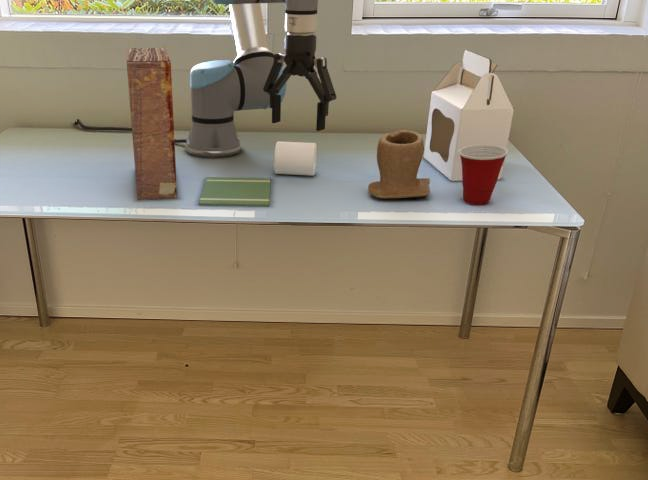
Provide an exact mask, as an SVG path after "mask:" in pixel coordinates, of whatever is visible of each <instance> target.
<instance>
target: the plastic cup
mask: <svg viewBox="0 0 648 480" xmlns="http://www.w3.org/2000/svg"><path fill="white" fill-rule="evenodd" d="M458 152H459V155H460V156H461V163H462V181H461V182H462V183H461V184H462V198H463V199H462V200H463V202H464V203H466V204H469V205H473V206H474V205H475V206H483V205H487V204H489V202H490V200H491V198H492V195H493V192H494V189H495V187H496V184H497V181H498V180H497V179H498V176H499V173H500V170H501V167H502V165H503V162H504V163H505V161H506V157H507V156H508V154H509V150H508V148H507V149H506V148H504V147H501V146H496V145H472V146H466V147H463V148H461V149H460V150H459V151H458ZM504 160H505V161H504Z"/></svg>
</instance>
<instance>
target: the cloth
mask: <svg viewBox="0 0 648 480" xmlns="http://www.w3.org/2000/svg"><path fill="white" fill-rule="evenodd" d="M271 179H272V178H271V177H235V176H234V177H232V176H231V177H229V176H227V177H225V176H224V177H223V176H206V179H205V182H204V185H203V188H202V192H201V195H200V198H199V201H198V206H225V207H226V206H231V207H234V206H235V207H237V206H238V207H269V206H270V198H271V197H270V196H271V182H272V181H271Z"/></svg>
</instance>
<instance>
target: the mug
mask: <svg viewBox="0 0 648 480" xmlns="http://www.w3.org/2000/svg"><path fill="white" fill-rule="evenodd" d="M317 148H318V147H317V143H316V142H303V141H302V142H299V141H279V140H278V141H276V142H275V146H274V155H273V170H274V174H276V175H291V176H310V177H313V176H315V174H316V168H317V156H318V155H317V151H318V149H317Z"/></svg>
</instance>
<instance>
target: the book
mask: <svg viewBox="0 0 648 480" xmlns="http://www.w3.org/2000/svg"><path fill="white" fill-rule="evenodd" d="M168 52H169V51H168V49H167V45H165V44H163V47H130V46H129V45H126V71H127V83H128V85H127V86H128V98H129V109H130V111H129V112H130V122H131V128H132V131H131V133H132V134H131V136H132V146H133V147H132V148H133V159H134V160H133V161H134V172H135V173H134V174H135V185H136V186H135V187H136V197H137V198H136V199H137V201H150V200H173V199H178V187H177V186H178V183H177V166H176V165H177V164H176V162H177V161H176V145H175V144H176V143H175V141H174V139H175V125H174V122H175V121H174V102H173V80H172V79H173V78H172V63H171V60H170V55H169V53H168Z"/></svg>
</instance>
